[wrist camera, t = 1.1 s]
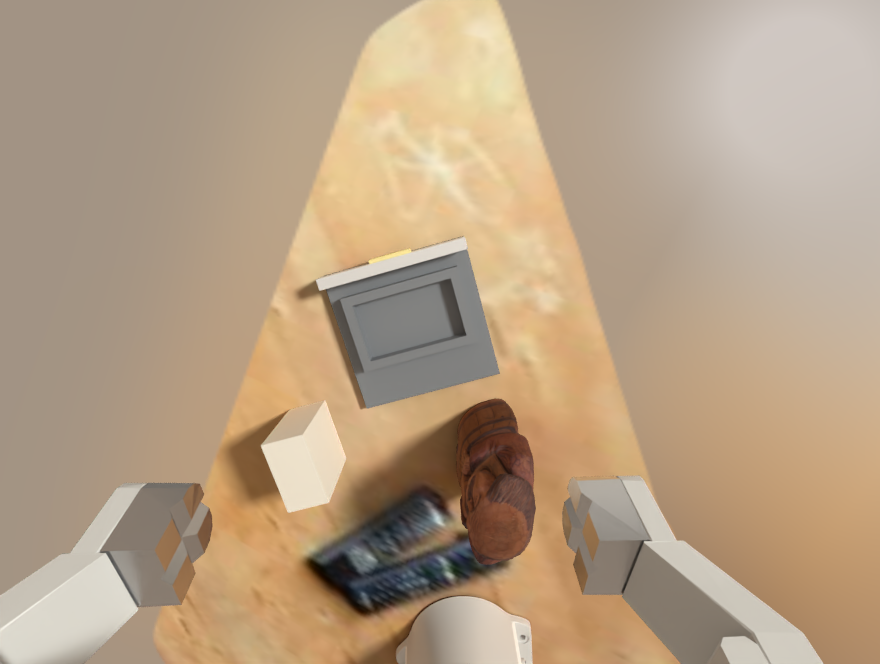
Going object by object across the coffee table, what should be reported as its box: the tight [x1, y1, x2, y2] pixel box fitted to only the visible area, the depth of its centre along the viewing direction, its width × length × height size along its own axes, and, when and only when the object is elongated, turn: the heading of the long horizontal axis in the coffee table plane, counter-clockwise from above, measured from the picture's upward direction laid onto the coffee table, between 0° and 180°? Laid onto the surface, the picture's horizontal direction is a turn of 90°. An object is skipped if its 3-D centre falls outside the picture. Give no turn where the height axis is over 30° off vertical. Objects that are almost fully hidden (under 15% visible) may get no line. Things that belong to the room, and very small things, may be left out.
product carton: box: [261, 400, 346, 513], centre depth 51 cm, size 5×8×9 cm, turn 16°
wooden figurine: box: [456, 399, 536, 565], centre depth 47 cm, size 12×6×18 cm, turn 175°
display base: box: [316, 236, 500, 408], centre depth 50 cm, size 16×16×4 cm
